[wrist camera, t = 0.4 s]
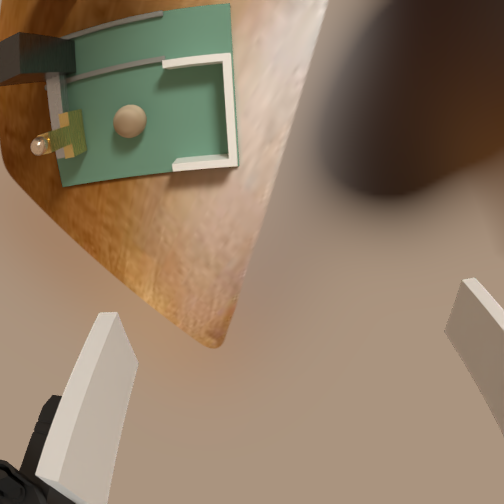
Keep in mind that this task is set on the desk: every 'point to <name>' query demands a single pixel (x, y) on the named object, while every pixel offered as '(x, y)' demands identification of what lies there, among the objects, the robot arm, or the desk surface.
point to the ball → (129, 121)
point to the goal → (230, 158)
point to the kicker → (54, 73)
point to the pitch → (149, 92)
